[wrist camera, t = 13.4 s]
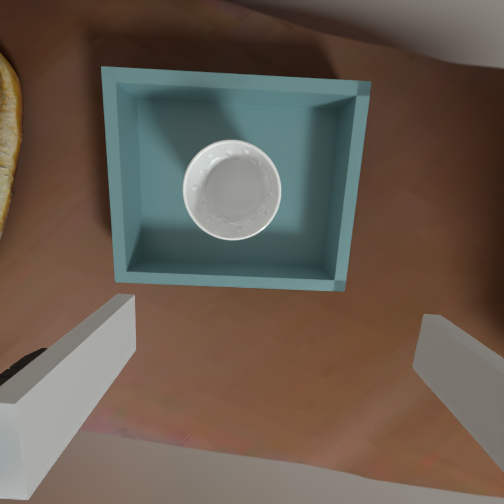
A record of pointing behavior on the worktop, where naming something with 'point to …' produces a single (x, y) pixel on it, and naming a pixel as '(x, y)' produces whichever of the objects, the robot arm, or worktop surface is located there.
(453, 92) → the worktop surface
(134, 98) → the walled box
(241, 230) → the white cup
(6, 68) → the bread
